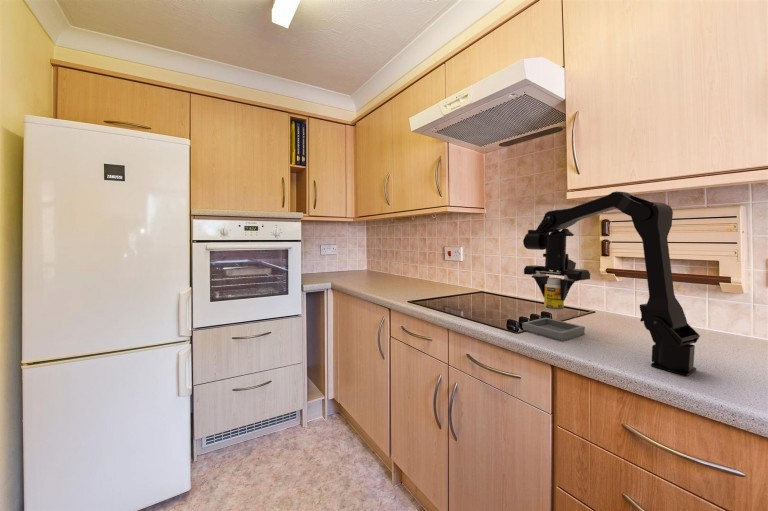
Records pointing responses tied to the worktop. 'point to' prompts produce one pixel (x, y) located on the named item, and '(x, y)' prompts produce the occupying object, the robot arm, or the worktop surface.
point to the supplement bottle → (553, 295)
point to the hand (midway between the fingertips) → (553, 298)
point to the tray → (554, 329)
